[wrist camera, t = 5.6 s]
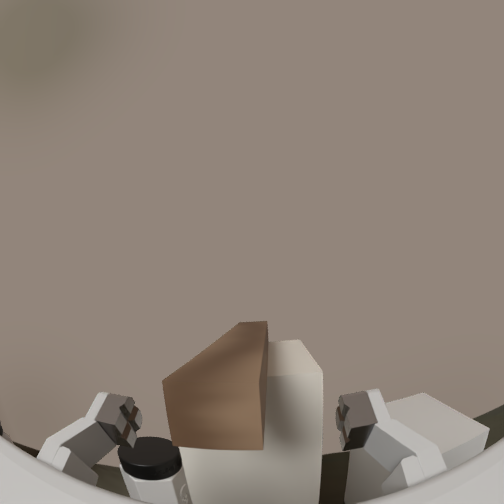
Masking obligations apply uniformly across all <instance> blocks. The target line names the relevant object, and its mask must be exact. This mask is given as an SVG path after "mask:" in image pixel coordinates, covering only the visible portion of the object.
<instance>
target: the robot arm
mask: <svg viewBox="0 0 504 504" xmlns="http://www.w3.org/2000/svg"><path fill="white" fill-rule="evenodd" d="M338 402H339V407H337V410H336V424H337V429H338V430H339V431H341V435H340V442H341V447H342V451H347V450H352V449H358V448H363V447H364V448H363V449H365V450H366V451H367V452H368V453H369V454H370V455H371V456H372V457H373V458H374V459H376V460H377V461H378V462H379V463H380V464H381V465H382V466H383V467H384V468H386V469H387V470H388V471H389V472H390V473H391V474H390V475H389V476H388V478H387V479H386V480H385V481H384V482H383V484H382V485H381V486H382V490H383V494H384V496H381V497H378V498H374V499H371V500H367V501H363V502H359V503H355V504H504V438H502V439H501V440H499V441H498V442H496V443H495V444H493V445H492V446H490V447H489V448H487V449H486V450H484V451H482V452H481V453H479V454H477V455H476V456H474V457H472V458H471V459H469V460H467V461H465V462H463V463H462V464H460V465H458V466H456V467H454V468H452V469H450V470H447V467H446V465H445V462H444V460H443V458H442V455H441V453H440V451H439V448H438V446H437V445H436V444H434V443H433V442H431V441H429V440H428V439H426V438H425V437H423V436H421V435H420V434H418V433H417V432H415V431H413V430H412V429H410V428H409V427H407V426H406V425H404V424H402V423H401V422H399V421H398V420H396V419H391V417H390V414H389V412H388V409H387V407H386V404H385V402H384V400H383V397H382V395H381V393H380V390H379V389H373V390H368V391H361V392H356V393H351V394H346V395H341V396H340V397H339V400H338ZM134 404H135V402H134V400H133V398H132V397H126V396H121V395H116V394H111V393H106V392H100V393H98V395H97V396H96V398H95V400H94V402H93V403H92V405H91V407H90V409H89V411H88V413H87V415H86V416H85V418H84V417H82V418H80V419H78V420H77V421H75V422H73V423H72V424H70V425H68V426H67V427H65V428H63V429H62V430H60V431H58V432H57V433H55V434H53V435H52V436H50V437H48V438H47V439H46V441H45V443H44V445H43V447H42V448H41V450H40V452H39V454H38V456H37V458H35V457H33V456H31V455H30V454H28V453H26V452H25V451H23V450H21V449H20V448H18V447H17V446H15V445H14V444H13V442H12V440H11V438H10V436H9V435H7V434H6V433H5V432H3V429H2V426H1V422H0V504H153V503H148V502H144V501H140V500H137V499H133V498H129V497H126V496H123V495H119V494H116V493H113V492H110V491H107V490H104V489H102V488H99V487H96V486H95V485H96V483H97V480H98V475H97V474H96V473H95V472H94V471H93V470H91V469H90V468H91V467H92V466H94V465H95V464H96V463H97V462H98V461H99V460H100V459H102V457H104V456H105V455H106V454H107V453H109V452H110V451H111V450H112V449H113V448H114V447H115V446H116V445H120V446H125V447H130V448H133V447H134V444H135V441H136V438H137V435H136V431H137V430H139V429H140V427H141V424H142V415H141V412H140V410H139V409H138V408H137V407H136V406H134Z"/></svg>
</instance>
